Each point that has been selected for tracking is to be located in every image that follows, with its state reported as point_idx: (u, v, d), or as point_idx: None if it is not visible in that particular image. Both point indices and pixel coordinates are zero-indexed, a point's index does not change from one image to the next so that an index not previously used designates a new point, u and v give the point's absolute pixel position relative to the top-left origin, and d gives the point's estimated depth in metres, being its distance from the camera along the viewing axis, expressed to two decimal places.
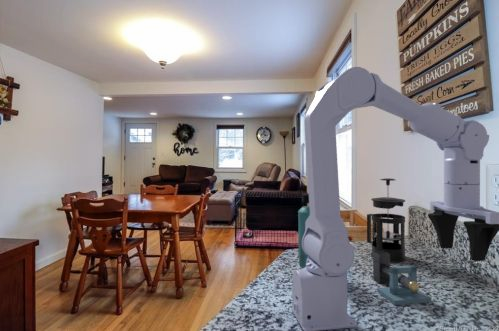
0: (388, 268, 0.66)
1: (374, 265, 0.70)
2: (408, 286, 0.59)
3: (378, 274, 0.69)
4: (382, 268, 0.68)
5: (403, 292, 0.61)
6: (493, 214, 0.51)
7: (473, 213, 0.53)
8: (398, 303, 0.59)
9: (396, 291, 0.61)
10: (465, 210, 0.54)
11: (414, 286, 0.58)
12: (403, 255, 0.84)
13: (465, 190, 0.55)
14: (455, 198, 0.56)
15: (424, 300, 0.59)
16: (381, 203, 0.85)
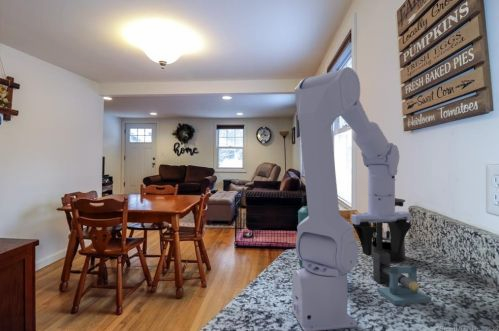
0: (388, 268, 0.66)
1: (374, 265, 0.70)
2: (408, 286, 0.59)
3: (378, 274, 0.69)
4: (382, 268, 0.68)
5: (403, 292, 0.61)
6: (352, 216, 0.68)
7: None
8: (398, 303, 0.59)
9: (396, 291, 0.61)
10: None
11: (414, 286, 0.58)
12: (403, 255, 0.84)
13: (368, 199, 0.70)
14: None
15: (424, 300, 0.59)
16: None
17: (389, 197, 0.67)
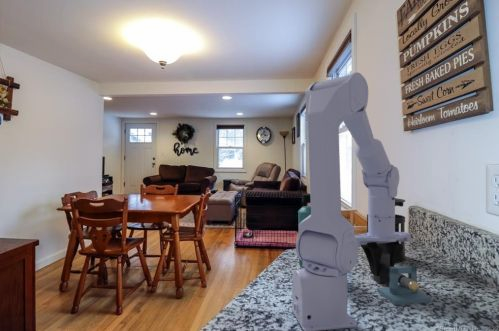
0: (388, 268, 0.66)
1: None
2: (408, 286, 0.59)
3: None
4: (382, 268, 0.68)
5: (403, 292, 0.61)
6: None
7: (359, 236, 0.70)
8: (398, 303, 0.59)
9: (396, 291, 0.61)
10: (363, 234, 0.71)
11: (414, 286, 0.58)
12: (403, 255, 0.84)
13: (368, 219, 0.70)
14: None
15: (424, 300, 0.59)
16: None
17: (389, 219, 0.67)
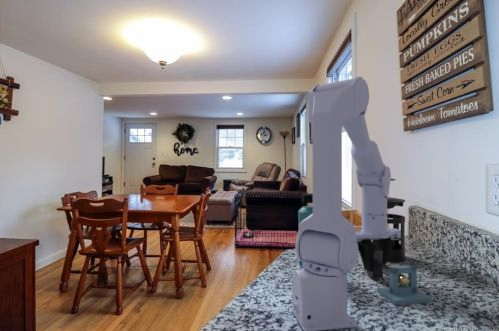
0: (381, 264, 0.69)
1: None
2: (399, 280, 0.62)
3: None
4: (375, 264, 0.70)
5: (403, 292, 0.61)
6: None
7: None
8: (398, 303, 0.59)
9: (396, 291, 0.61)
10: None
11: (404, 280, 0.61)
12: (403, 255, 0.84)
13: None
14: None
15: (424, 300, 0.59)
16: None
17: (382, 216, 0.70)
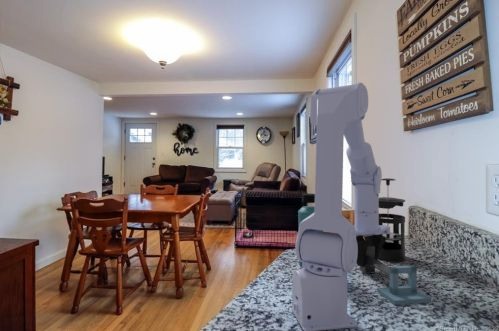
0: (373, 259, 0.72)
1: None
2: (389, 274, 0.65)
3: None
4: (367, 259, 0.74)
5: (403, 292, 0.61)
6: None
7: None
8: (398, 303, 0.59)
9: (396, 291, 0.61)
10: None
11: None
12: (403, 255, 0.84)
13: (355, 215, 0.76)
14: None
15: (424, 300, 0.59)
16: (381, 203, 0.85)
17: (375, 214, 0.73)
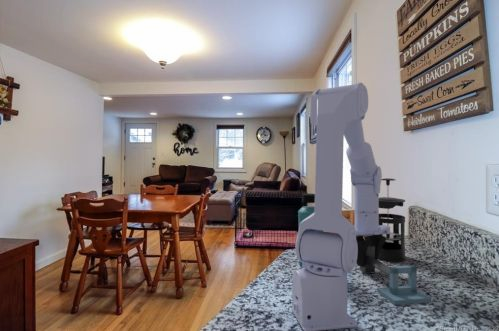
0: (373, 259, 0.72)
1: None
2: (389, 274, 0.65)
3: None
4: (367, 259, 0.74)
5: (403, 292, 0.61)
6: None
7: None
8: (398, 303, 0.59)
9: (396, 291, 0.61)
10: None
11: None
12: (403, 255, 0.84)
13: (355, 215, 0.76)
14: None
15: (424, 300, 0.59)
16: (381, 203, 0.85)
17: (375, 214, 0.73)
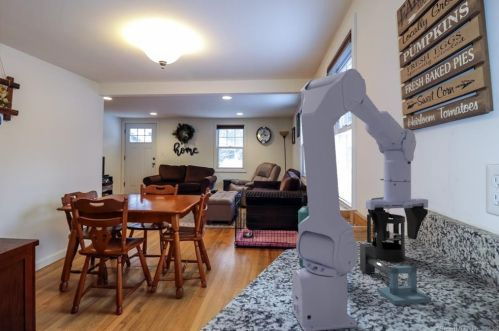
0: (373, 259, 0.72)
1: (361, 257, 0.76)
2: (389, 274, 0.65)
3: (364, 265, 0.75)
4: (367, 259, 0.74)
5: (403, 292, 0.61)
6: (367, 201, 0.69)
7: None
8: (398, 303, 0.59)
9: (396, 291, 0.61)
10: (379, 200, 0.71)
11: None
12: (403, 255, 0.84)
13: None
14: None
15: (424, 300, 0.59)
16: None
17: (405, 183, 0.67)
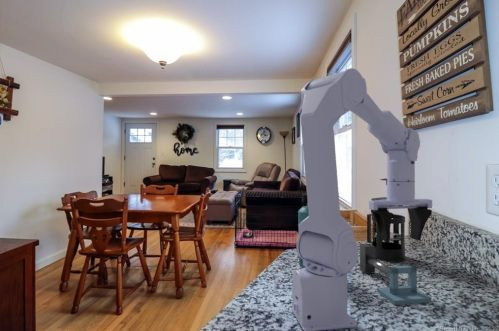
0: (373, 259, 0.72)
1: (361, 257, 0.76)
2: (389, 274, 0.65)
3: (364, 265, 0.75)
4: (367, 259, 0.74)
5: (403, 292, 0.61)
6: (370, 201, 0.68)
7: None
8: (398, 303, 0.59)
9: (396, 291, 0.61)
10: (382, 200, 0.70)
11: None
12: (403, 255, 0.84)
13: (387, 185, 0.70)
14: None
15: (424, 300, 0.59)
16: None
17: (408, 183, 0.66)
